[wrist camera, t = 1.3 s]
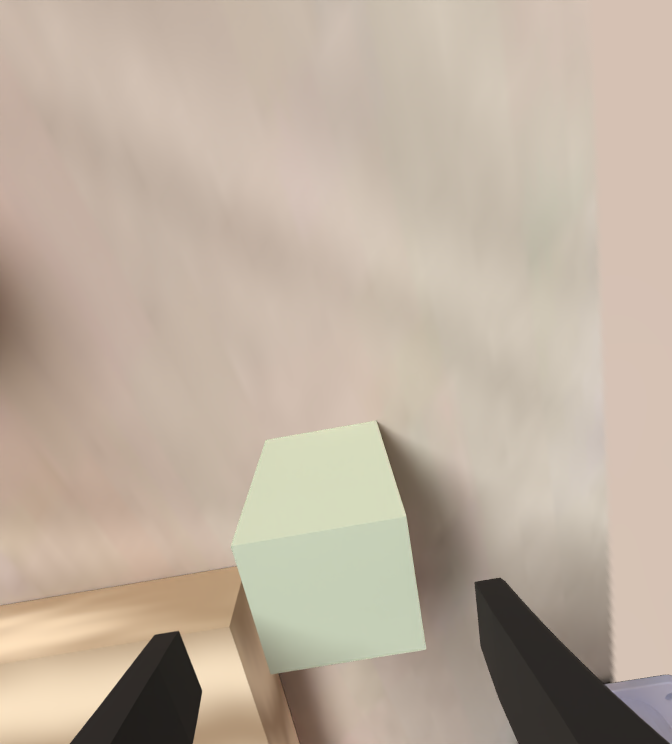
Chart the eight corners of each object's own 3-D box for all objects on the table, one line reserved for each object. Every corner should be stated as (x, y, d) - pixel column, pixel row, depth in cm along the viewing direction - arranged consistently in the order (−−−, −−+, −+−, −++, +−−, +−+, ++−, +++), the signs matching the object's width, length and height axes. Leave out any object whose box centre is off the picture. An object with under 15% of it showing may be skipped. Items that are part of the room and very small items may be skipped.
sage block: (391, 514, 17) (426, 649, 11) (289, 531, 17) (270, 674, 11) (376, 420, 15) (406, 516, 10) (265, 439, 16) (231, 545, 10)
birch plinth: (300, 746, 20) (296, 825, 18) (82, 779, 21) (43, 863, 18) (245, 564, 17) (229, 626, 14) (-14, 608, 17) (-81, 677, 15)
